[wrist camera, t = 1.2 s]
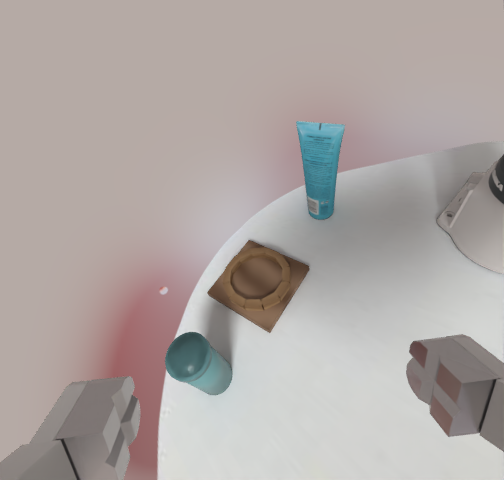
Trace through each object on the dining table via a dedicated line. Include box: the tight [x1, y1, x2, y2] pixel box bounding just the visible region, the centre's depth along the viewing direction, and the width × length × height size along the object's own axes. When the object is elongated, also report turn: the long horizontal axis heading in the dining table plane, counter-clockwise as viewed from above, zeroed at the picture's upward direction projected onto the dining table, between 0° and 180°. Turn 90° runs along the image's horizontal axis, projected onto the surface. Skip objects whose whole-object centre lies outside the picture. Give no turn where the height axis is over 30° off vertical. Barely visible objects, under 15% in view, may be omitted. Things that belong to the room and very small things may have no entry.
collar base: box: [207, 240, 309, 333], centre depth 47 cm, size 13×13×3 cm
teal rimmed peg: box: [165, 332, 232, 395], centre depth 36 cm, size 5×5×11 cm
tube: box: [296, 121, 345, 220], centre depth 48 cm, size 7×5×19 cm, turn 68°
